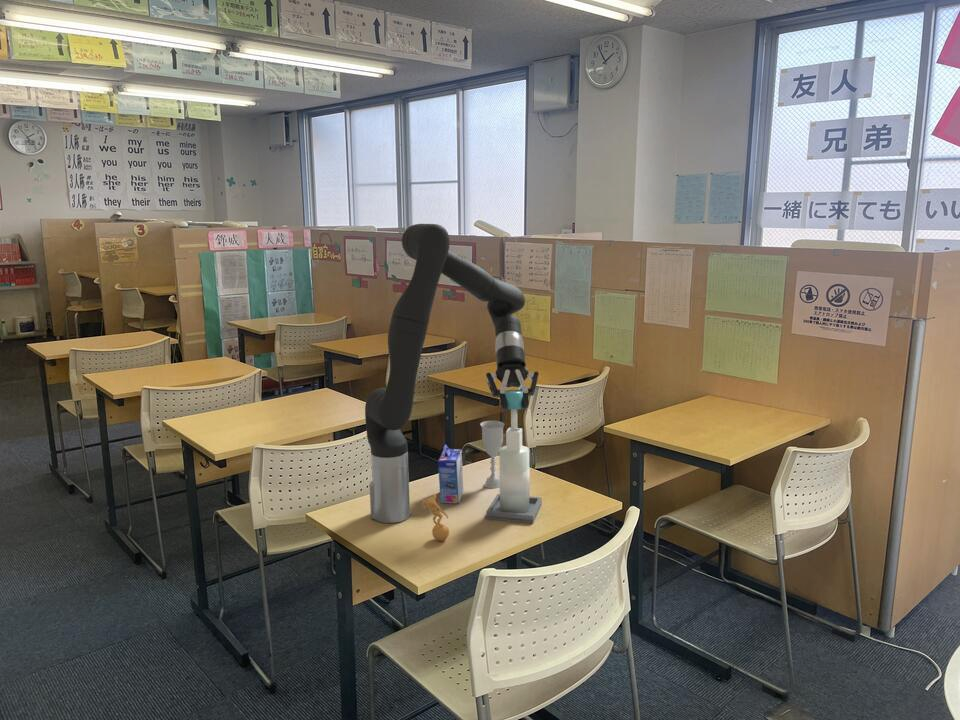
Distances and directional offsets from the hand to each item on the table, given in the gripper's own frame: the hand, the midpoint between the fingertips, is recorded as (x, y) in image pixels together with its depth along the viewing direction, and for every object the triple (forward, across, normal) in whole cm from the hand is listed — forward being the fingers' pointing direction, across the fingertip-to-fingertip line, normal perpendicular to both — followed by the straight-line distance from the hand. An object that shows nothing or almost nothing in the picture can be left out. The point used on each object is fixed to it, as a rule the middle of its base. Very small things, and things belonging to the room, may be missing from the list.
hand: (515, 408), depth 173 cm
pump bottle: (+18, 0, +21) cm, 28 cm away
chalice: (+5, -4, +35) cm, 36 cm away
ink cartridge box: (+10, -16, +30) cm, 35 cm away
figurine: (+30, -20, +10) cm, 37 cm away
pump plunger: (+3, 0, +5) cm, 6 cm away
